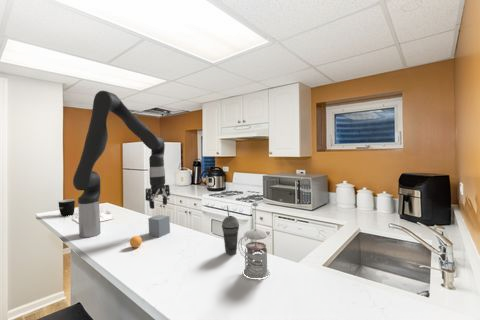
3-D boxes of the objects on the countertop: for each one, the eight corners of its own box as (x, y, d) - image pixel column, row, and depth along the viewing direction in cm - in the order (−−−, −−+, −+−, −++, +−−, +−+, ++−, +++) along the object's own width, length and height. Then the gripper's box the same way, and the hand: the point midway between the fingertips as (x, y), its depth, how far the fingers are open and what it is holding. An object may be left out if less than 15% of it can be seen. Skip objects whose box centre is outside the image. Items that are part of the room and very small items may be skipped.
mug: (57, 215, 164) (56, 201, 164) (72, 212, 172) (71, 198, 171) (64, 218, 157) (63, 203, 157) (79, 215, 165) (78, 200, 164)
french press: (262, 283, 78) (261, 207, 77) (232, 274, 84) (231, 203, 83) (274, 270, 86) (274, 201, 85) (246, 262, 92) (245, 197, 91)
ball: (127, 248, 108) (127, 237, 108) (136, 244, 112) (136, 233, 112) (135, 250, 106) (134, 239, 105) (144, 246, 110) (144, 235, 110)
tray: (82, 227, 141) (82, 220, 141) (68, 220, 159) (68, 214, 159) (118, 218, 157) (118, 213, 156) (102, 213, 175) (102, 208, 175)
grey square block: (149, 235, 124) (148, 218, 123) (159, 230, 130) (159, 214, 130) (159, 237, 120) (158, 220, 120) (169, 232, 127) (169, 216, 126)
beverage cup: (237, 257, 97) (236, 208, 96) (220, 256, 98) (219, 207, 97) (241, 249, 104) (240, 204, 103) (224, 248, 105) (223, 203, 104)
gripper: (162, 173, 132) (163, 203, 133) (140, 176, 119) (142, 209, 120) (172, 174, 128) (173, 204, 129) (151, 177, 116) (153, 210, 116)
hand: (158, 206), depth 125 cm, fingers open, 8 cm apart
